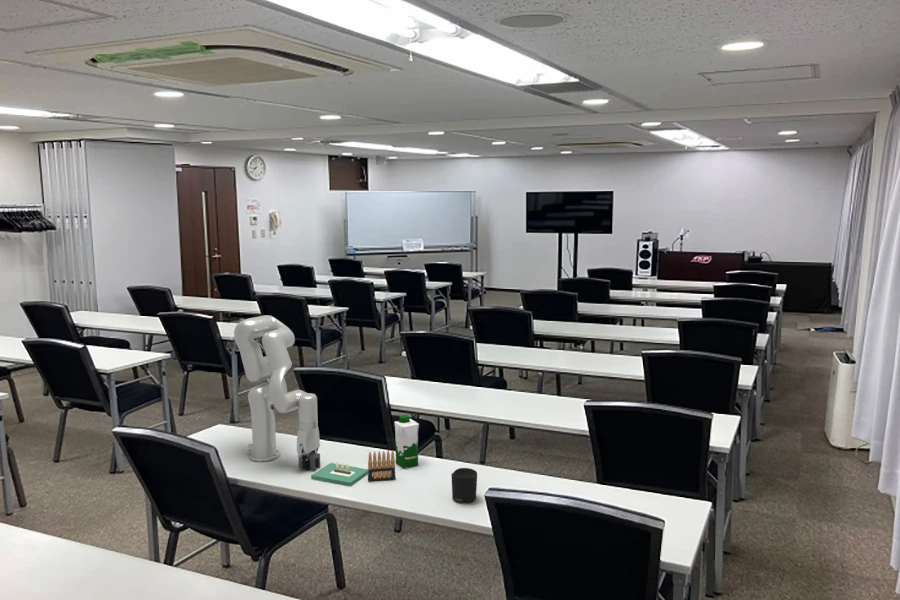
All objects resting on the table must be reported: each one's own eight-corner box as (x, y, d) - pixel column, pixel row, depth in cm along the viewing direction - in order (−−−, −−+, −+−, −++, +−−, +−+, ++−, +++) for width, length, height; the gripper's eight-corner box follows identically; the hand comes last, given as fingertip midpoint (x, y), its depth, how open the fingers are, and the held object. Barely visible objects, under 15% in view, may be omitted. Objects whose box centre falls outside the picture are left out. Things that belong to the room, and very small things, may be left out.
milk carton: (411, 458, 285) (411, 413, 282) (421, 466, 277) (421, 419, 274) (392, 462, 280) (392, 416, 278) (402, 470, 273) (401, 422, 270)
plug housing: (299, 468, 275) (298, 454, 274) (305, 464, 278) (304, 451, 277) (314, 471, 272) (314, 457, 271) (320, 467, 275) (319, 453, 275)
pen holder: (447, 496, 249) (447, 470, 247) (470, 491, 252) (470, 466, 251) (457, 506, 240) (457, 479, 239) (481, 501, 244) (481, 475, 242)
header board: (311, 478, 264) (310, 466, 263) (331, 466, 277) (330, 453, 276) (350, 486, 257) (350, 473, 256) (369, 473, 270) (368, 460, 269)
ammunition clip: (395, 478, 265) (394, 448, 263) (395, 480, 263) (395, 450, 261) (367, 480, 263) (367, 450, 261) (368, 482, 261) (367, 452, 259)
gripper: (312, 417, 281) (313, 458, 284) (287, 429, 266) (289, 473, 269) (327, 419, 278) (328, 461, 281) (303, 431, 263) (305, 476, 266)
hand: (309, 466), depth 275 cm, fingers closed on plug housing, 4 cm apart
